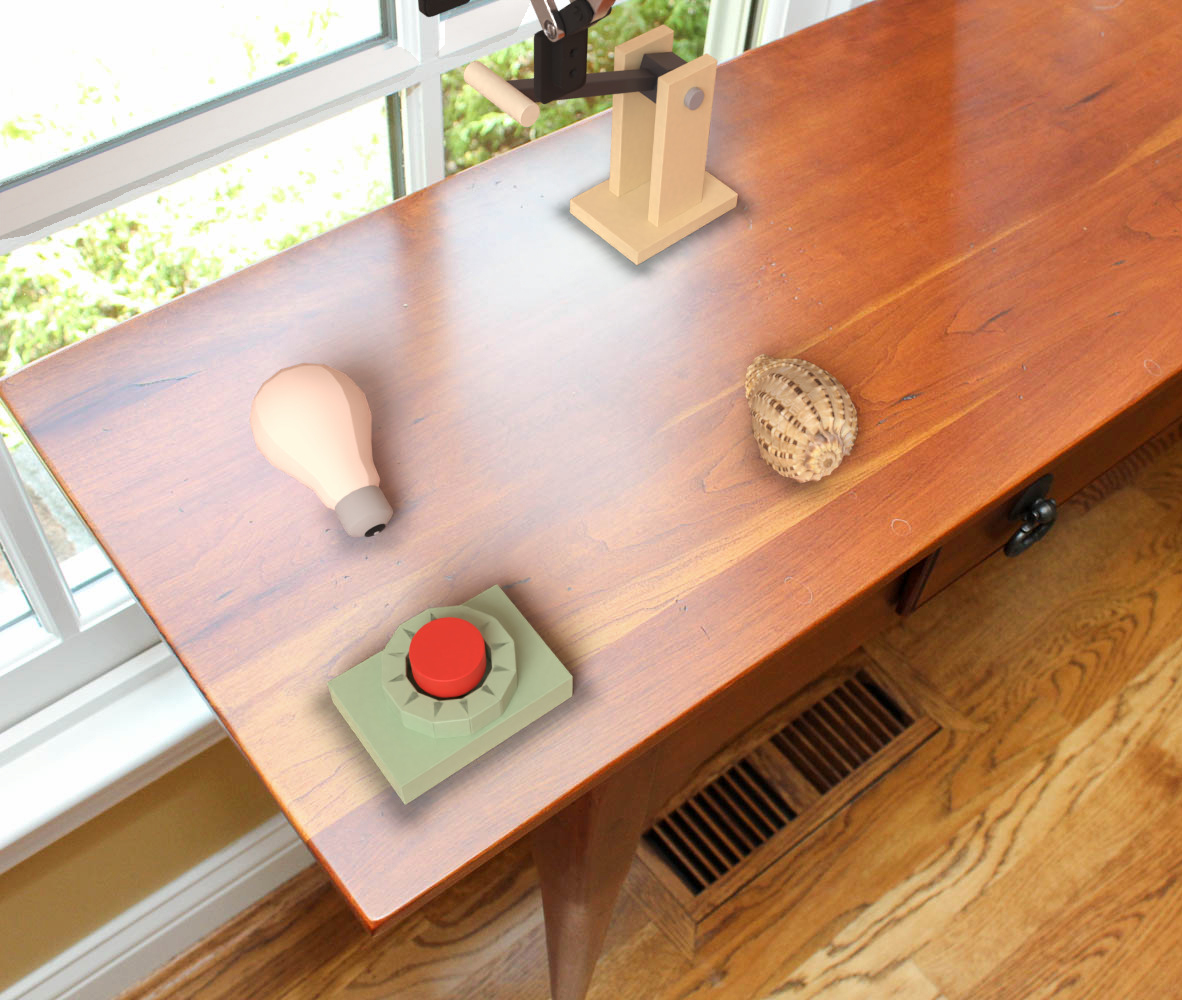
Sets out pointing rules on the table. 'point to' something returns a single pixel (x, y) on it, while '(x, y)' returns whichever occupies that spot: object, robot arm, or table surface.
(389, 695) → the control block
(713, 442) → the table surface
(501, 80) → the lever
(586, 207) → the bracket
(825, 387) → the seashell
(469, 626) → the button
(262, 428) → the light bulb
